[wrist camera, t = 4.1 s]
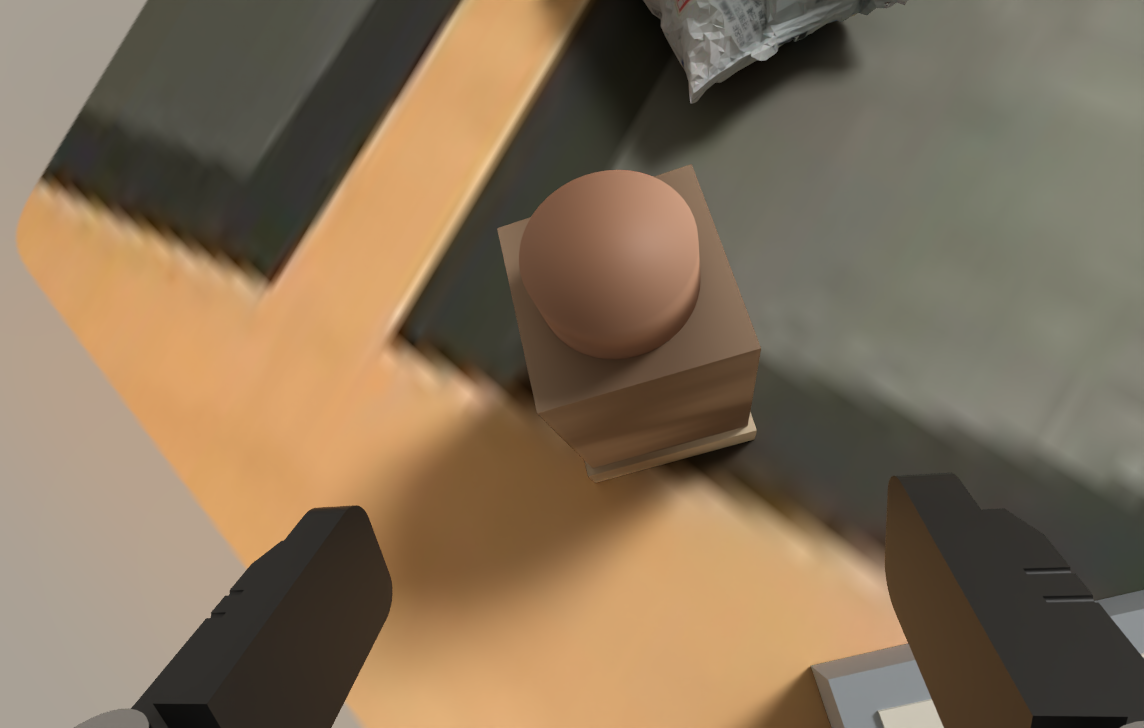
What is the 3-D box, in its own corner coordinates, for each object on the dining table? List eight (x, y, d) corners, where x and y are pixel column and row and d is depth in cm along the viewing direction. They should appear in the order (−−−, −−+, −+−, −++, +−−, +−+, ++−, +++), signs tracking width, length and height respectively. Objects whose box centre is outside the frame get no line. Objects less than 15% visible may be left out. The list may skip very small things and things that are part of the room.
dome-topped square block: (704, 296, 22) (694, 105, 13) (754, 439, 20) (781, 322, 11) (560, 340, 22) (463, 185, 14) (595, 482, 20) (506, 403, 12)
